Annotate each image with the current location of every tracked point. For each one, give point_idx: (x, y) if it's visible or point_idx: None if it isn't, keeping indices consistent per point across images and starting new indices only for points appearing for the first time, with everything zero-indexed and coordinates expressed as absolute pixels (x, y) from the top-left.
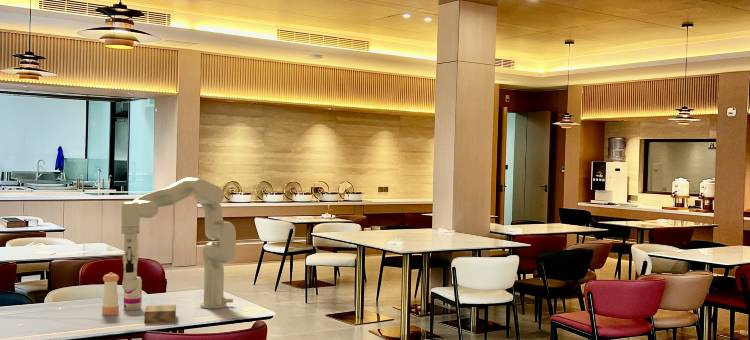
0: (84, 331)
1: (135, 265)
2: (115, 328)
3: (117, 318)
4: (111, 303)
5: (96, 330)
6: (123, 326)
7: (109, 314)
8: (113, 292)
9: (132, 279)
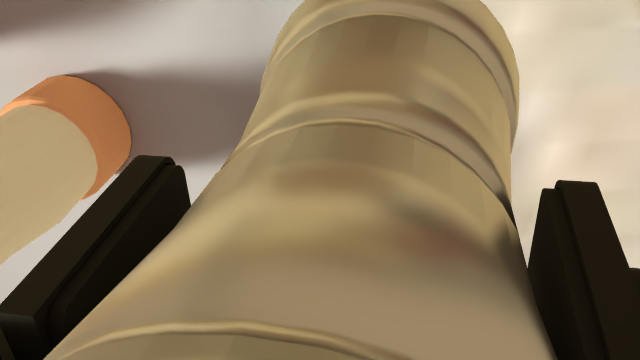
0: (628, 254)
1: (481, 238)
2: (603, 64)
3: (234, 72)
4: (77, 159)
5: (625, 189)
6: (543, 6)
7: (128, 132)
8: (4, 193)
9: (506, 108)
